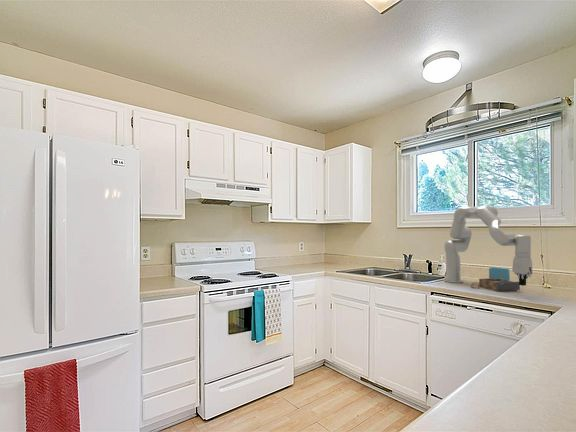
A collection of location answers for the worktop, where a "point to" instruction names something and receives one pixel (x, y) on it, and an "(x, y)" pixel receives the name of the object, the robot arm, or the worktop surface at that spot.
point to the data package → (499, 273)
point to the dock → (492, 284)
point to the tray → (508, 285)
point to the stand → (474, 285)
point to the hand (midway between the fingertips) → (522, 285)
